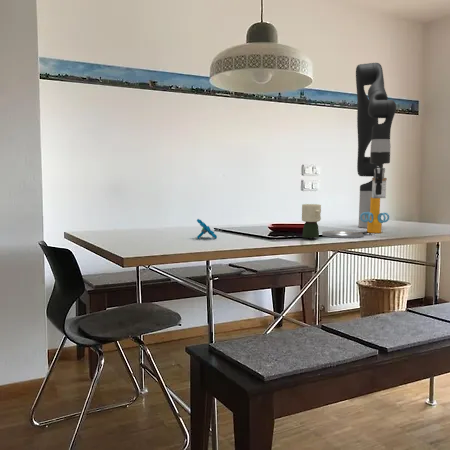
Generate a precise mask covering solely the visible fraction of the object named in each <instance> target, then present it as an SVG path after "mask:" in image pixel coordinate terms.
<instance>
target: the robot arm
mask: <svg viewBox="0 0 450 450" xmlns="http://www.w3.org/2000/svg"><path fill="white" fill-rule="evenodd" d="M383 71H384V70H383V66H382V65H381V63H379V62H369V63H361V64H358V65H356V68H355V83H356V84H355V85H356V97H357V100H356V101H357V105H356V107H357V111H356V112H357V115H356V120H357V121H356V122H357V125H356V126H357V127H356V128H357V159H356V161H357V166H356V167H357V168H356V169H357V174H358V176H359V177H366V178H367V177H371V178H375V185H376V195H381V192H382V180H383V179H384V178H385V173H386V168H385V167H384V165H385V164H386V165H387V164H390V162H391V128H392V123H393V120H394V117H395V115H396V111H397V104H396V102H395V101H394V99H393V100H392V99H389V98H388V94H387V92H386V88H385V79H384V72H383ZM365 86H369V88H368V91H367V93H366V91H365ZM379 119H384V121H383V122H381V123H379ZM369 145H370V154H369V155H370V156H366V151H367V148H368V147H369ZM377 179H381V180H377ZM372 181H373V180H372V179H371V180H370V181H367V182H366V183H365V182H364V183H362V184H360V186H359V206H358V227H359V228H362V229H364V228H365V229H367V222H363V221H361V219H360V215H361V214H362V213H364V212H370V198H371V197H372ZM364 216H365V214H364V215H362V219H363V220H365V217H364ZM366 218H367V219H368V215H366Z"/></svg>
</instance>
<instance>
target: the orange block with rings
mask: <svg viewBox="0 0 450 450" xmlns="http://www.w3.org/2000/svg"><path fill="white" fill-rule="evenodd" d="M364 214H365V216H364V217H365V220H363V219H362V215H364ZM366 215H368V219H367V218H366ZM382 216H383V219H382ZM360 219H361V221H363V222H367V228H366V232H367V233H371V234H382V228H383V227H382V224H383V223H387V222H388V221H389V220H390V214H389V213H388V212H381V198H372V197H371V198H370V212H364V213H362V214H361V215H360Z"/></svg>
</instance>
